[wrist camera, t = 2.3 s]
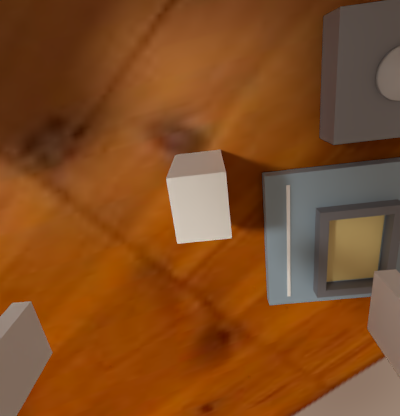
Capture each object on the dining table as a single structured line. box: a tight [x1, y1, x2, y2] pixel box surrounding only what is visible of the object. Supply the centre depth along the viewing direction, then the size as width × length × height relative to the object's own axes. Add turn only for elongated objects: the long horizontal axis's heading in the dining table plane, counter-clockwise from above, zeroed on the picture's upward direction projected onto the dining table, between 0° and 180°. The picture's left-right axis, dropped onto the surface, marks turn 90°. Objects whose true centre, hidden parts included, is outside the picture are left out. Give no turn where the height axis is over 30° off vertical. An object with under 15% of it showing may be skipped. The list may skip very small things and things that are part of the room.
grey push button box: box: [319, 0, 400, 145], centre depth 22 cm, size 9×9×3 cm
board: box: [262, 157, 400, 305], centre depth 28 cm, size 14×13×2 cm
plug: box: [166, 150, 232, 244], centre depth 24 cm, size 6×4×7 cm
